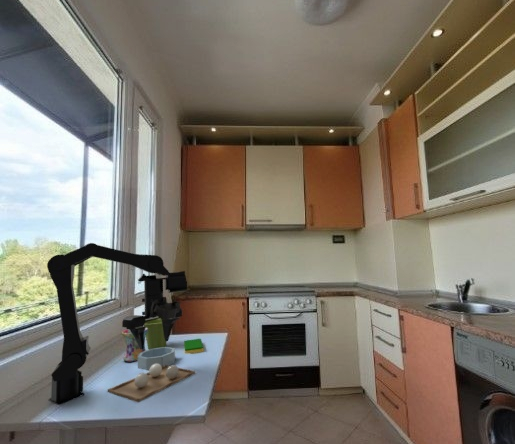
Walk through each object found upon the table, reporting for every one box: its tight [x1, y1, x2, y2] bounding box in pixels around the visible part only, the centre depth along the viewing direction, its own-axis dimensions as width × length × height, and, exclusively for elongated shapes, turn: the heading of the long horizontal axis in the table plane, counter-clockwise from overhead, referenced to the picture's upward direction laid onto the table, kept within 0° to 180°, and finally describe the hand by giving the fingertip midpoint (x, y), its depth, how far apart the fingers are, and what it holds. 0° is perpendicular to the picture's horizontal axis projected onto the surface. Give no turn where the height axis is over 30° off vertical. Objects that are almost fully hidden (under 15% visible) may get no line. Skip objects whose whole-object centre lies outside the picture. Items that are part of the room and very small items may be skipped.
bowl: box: [137, 346, 176, 371], centre depth 102 cm, size 12×12×4 cm
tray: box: [107, 365, 196, 403], centre depth 85 cm, size 20×14×1 cm
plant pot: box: [144, 318, 168, 350], centre depth 123 cm, size 12×12×11 cm
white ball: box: [148, 363, 162, 377], centre depth 89 cm, size 4×4×4 cm
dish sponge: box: [183, 338, 205, 355], centre depth 118 cm, size 7×14×2 cm, turn 15°
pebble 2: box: [166, 364, 179, 379], centre depth 86 cm, size 4×4×4 cm
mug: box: [121, 328, 148, 363], centre depth 111 cm, size 12×9×11 cm
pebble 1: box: [134, 372, 149, 388], centre depth 81 cm, size 4×4×4 cm
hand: (154, 345), depth 90 cm, fingers open, 9 cm apart
